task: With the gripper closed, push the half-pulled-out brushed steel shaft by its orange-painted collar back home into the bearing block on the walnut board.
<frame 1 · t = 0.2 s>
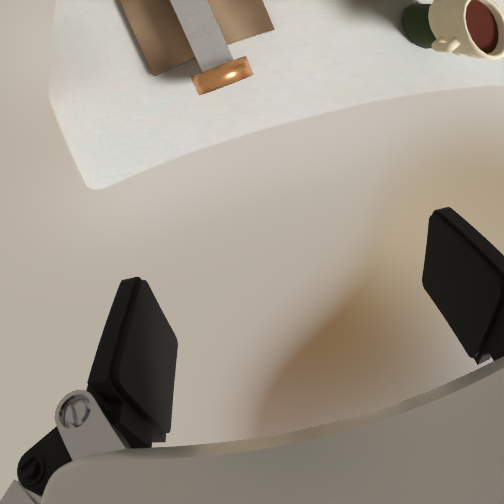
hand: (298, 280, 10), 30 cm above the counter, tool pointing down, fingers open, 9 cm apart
shaft: (196, 15, 23), point 6 cm above the counter, slide at 6.0 cm
character mug: (419, 26, 28), on the counter
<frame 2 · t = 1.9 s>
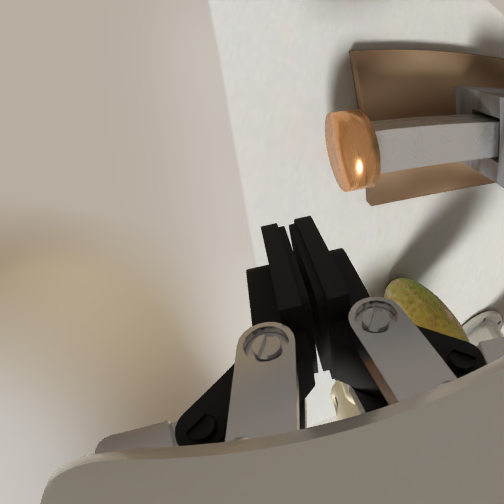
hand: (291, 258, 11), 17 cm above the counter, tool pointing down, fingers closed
vegetable: (397, 279, 34), on the counter
shaft: (430, 139, 20), point 5 cm above the counter, slide at 6.0 cm
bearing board: (449, 120, 24), on the counter
character mug: (343, 339, 39), on the counter
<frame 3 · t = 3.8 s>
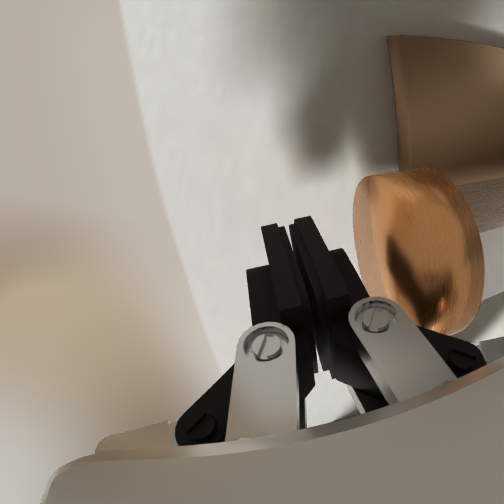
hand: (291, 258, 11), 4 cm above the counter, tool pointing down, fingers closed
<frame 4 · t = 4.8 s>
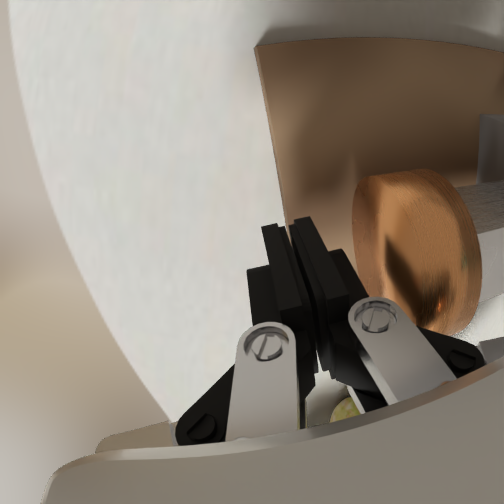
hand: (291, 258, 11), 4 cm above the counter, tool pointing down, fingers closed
vegetable: (354, 393, 24), on the counter
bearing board: (462, 176, 14), on the counter
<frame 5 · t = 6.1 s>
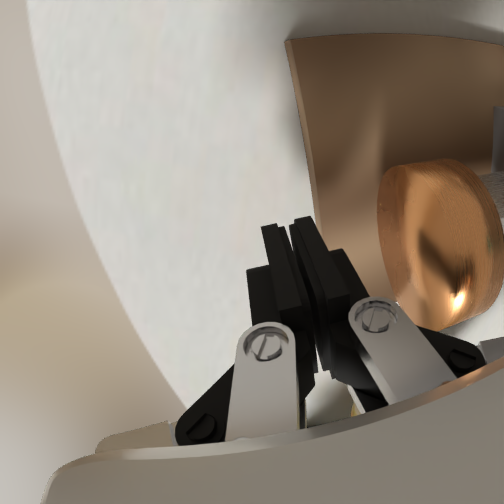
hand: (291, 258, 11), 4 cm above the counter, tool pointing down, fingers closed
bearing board: (477, 165, 14), on the counter
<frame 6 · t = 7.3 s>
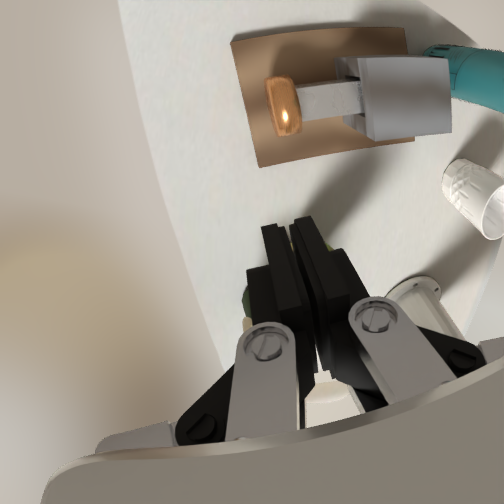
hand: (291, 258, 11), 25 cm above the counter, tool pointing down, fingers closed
white cup: (457, 179, 38), on the counter
shaft: (352, 95, 26), point 5 cm above the counter, slide at 0.0 cm
beverage bottle: (431, 67, 29), on the counter
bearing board: (335, 89, 30), on the counter
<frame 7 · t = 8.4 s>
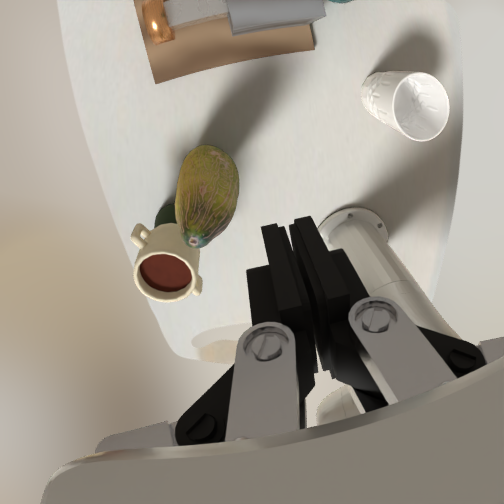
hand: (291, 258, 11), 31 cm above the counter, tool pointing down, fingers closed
vegetable: (211, 155, 39), on the counter
white cup: (382, 95, 36), on the counter
shaft: (223, 2, 25), point 5 cm above the counter, slide at 0.0 cm
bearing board: (225, 11, 29), on the counter
character mug: (177, 221, 44), on the counter
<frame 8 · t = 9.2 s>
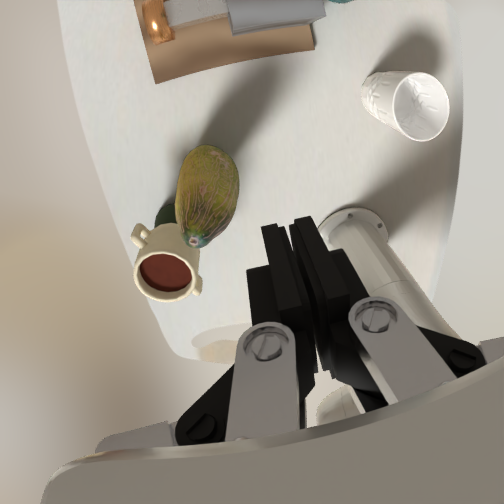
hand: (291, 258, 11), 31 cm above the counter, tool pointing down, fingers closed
vegetable: (211, 155, 39), on the counter
white cup: (382, 95, 36), on the counter
shaft: (223, 2, 25), point 5 cm above the counter, slide at 0.0 cm
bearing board: (225, 11, 29), on the counter
character mug: (178, 221, 44), on the counter
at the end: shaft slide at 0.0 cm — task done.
